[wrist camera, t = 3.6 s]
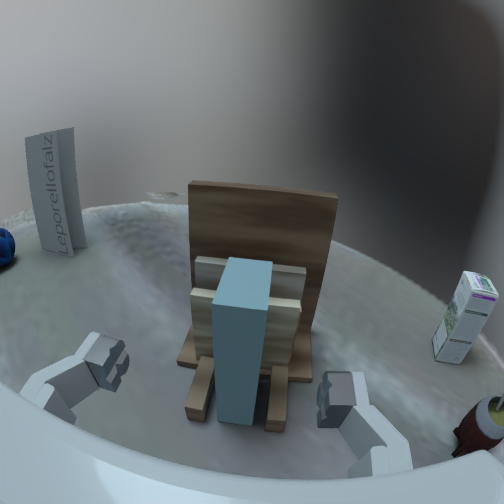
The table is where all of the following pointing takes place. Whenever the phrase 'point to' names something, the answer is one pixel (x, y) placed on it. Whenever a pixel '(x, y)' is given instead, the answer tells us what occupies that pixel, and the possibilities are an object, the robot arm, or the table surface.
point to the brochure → (55, 191)
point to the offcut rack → (265, 249)
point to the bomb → (6, 247)
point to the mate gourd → (482, 426)
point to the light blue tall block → (239, 336)
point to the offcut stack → (278, 315)
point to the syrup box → (464, 317)
